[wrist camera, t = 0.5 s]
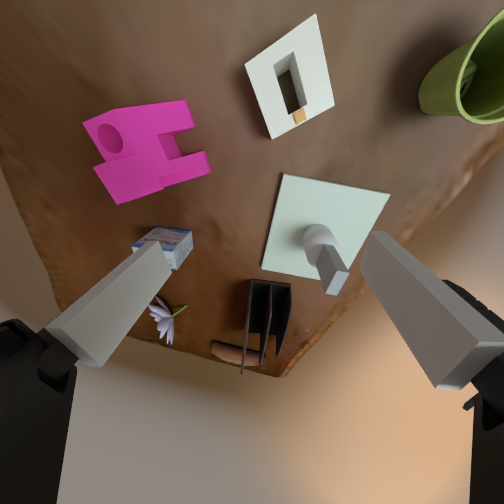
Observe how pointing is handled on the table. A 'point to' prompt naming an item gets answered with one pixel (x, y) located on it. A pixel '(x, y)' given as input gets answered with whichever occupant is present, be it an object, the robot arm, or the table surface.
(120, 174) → the bracket
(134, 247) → the medicine box
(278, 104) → the slotted block
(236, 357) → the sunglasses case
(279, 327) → the letter holder
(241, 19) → the table surface
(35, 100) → the table surface
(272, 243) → the shaft stand
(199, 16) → the table surface
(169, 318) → the water lily
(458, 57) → the plant pot
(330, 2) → the table surface
